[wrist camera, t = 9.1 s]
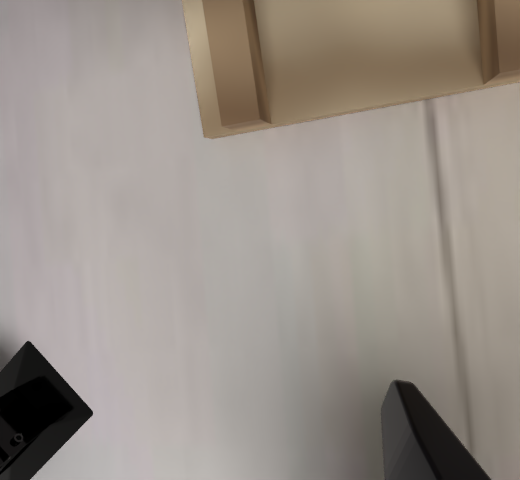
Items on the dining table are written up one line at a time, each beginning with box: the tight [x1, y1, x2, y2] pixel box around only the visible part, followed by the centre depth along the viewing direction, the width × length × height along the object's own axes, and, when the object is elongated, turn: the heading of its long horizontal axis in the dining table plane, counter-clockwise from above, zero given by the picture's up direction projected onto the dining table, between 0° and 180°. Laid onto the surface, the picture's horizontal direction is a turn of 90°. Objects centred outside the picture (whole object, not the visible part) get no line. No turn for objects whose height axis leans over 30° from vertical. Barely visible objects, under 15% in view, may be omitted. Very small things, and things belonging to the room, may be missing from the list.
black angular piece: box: [0, 341, 93, 480], centre depth 23 cm, size 12×7×5 cm, turn 136°
